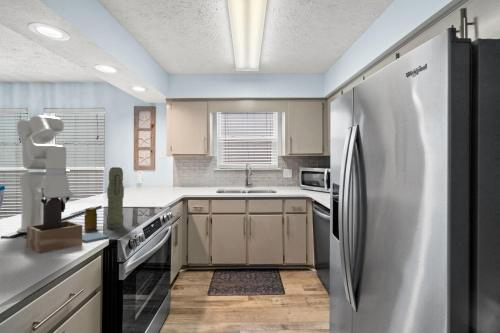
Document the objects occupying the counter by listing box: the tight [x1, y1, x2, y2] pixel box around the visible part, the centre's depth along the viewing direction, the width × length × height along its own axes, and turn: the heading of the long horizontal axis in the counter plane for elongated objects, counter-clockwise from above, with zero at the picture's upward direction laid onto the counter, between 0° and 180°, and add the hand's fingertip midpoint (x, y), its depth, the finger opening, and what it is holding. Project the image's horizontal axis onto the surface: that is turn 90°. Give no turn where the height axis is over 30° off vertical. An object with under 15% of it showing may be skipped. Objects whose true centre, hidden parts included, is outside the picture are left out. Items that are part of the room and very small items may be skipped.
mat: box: [82, 231, 109, 243], centre depth 139 cm, size 12×10×1 cm
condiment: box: [82, 207, 103, 233], centre depth 155 cm, size 7×8×12 cm
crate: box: [26, 220, 83, 254], centre depth 126 cm, size 15×16×9 cm
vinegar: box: [43, 197, 63, 231], centre depth 125 cm, size 7×7×20 cm
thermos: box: [106, 166, 125, 230], centre depth 163 cm, size 9×12×35 cm
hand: (55, 212), depth 126 cm, fingers closed on vinegar, 4 cm apart
